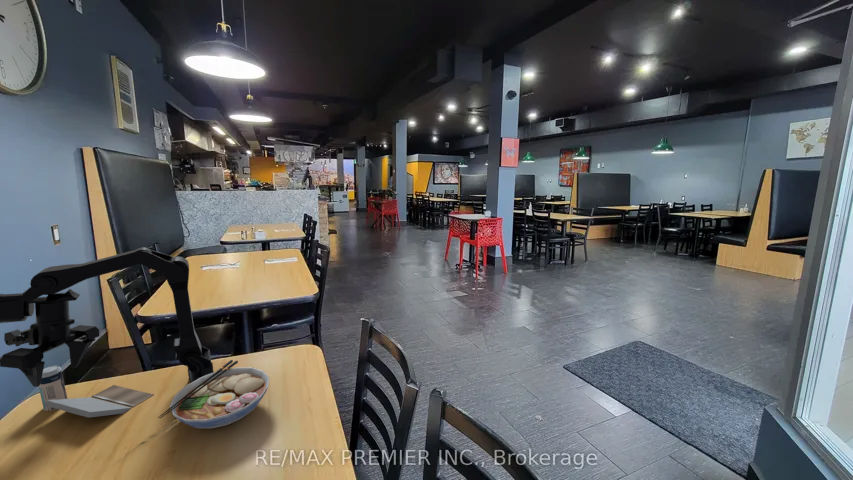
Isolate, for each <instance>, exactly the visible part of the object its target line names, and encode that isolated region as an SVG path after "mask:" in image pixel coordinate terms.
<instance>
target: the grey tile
mask: <svg viewBox="0 0 853 480" xmlns="http://www.w3.org/2000/svg"><path fill="white" fill-rule="evenodd" d="M45 406H48V407H52V408H55V410H61V411H63V412H67V413H70V414H74V415H77V416H82V417H84V418H95V417H97V418H98V417H104V416H113V415H121V414H122V415H123V414H125V413H126V412H128V411H130V410H131V409H132V407H130V406H126V405H122V404H118V403H114V402H110V401H106V400H102V399H98V398H94V397H92V396H89V397H88V396H87V397H76V398H68V399H58V400H46V402H45Z"/></svg>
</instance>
